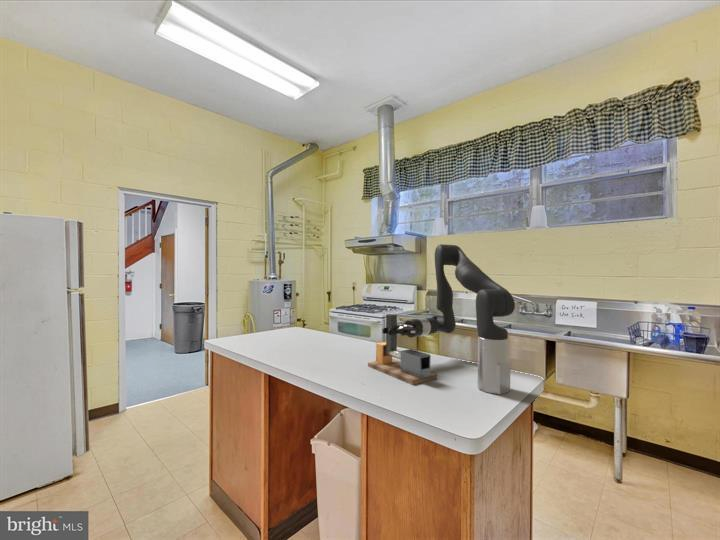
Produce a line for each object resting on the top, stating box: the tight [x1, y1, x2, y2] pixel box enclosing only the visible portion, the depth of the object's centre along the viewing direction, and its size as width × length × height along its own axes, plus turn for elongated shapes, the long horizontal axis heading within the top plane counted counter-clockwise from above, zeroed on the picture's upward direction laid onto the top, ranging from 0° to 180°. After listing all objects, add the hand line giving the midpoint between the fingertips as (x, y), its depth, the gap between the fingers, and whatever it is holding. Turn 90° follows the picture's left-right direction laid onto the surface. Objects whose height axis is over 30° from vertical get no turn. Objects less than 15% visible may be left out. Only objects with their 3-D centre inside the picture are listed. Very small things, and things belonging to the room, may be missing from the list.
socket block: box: [375, 341, 393, 364], centre depth 133 cm, size 4×5×8 cm
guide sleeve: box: [400, 348, 431, 379], centre depth 118 cm, size 10×5×8 cm, turn 35°
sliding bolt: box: [383, 313, 402, 360], centre depth 126 cm, size 18×3×16 cm, turn 35°
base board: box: [367, 358, 438, 386], centre depth 124 cm, size 26×12×2 cm, turn 35°
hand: (385, 331), depth 127 cm, fingers closed on sliding bolt, 3 cm apart
